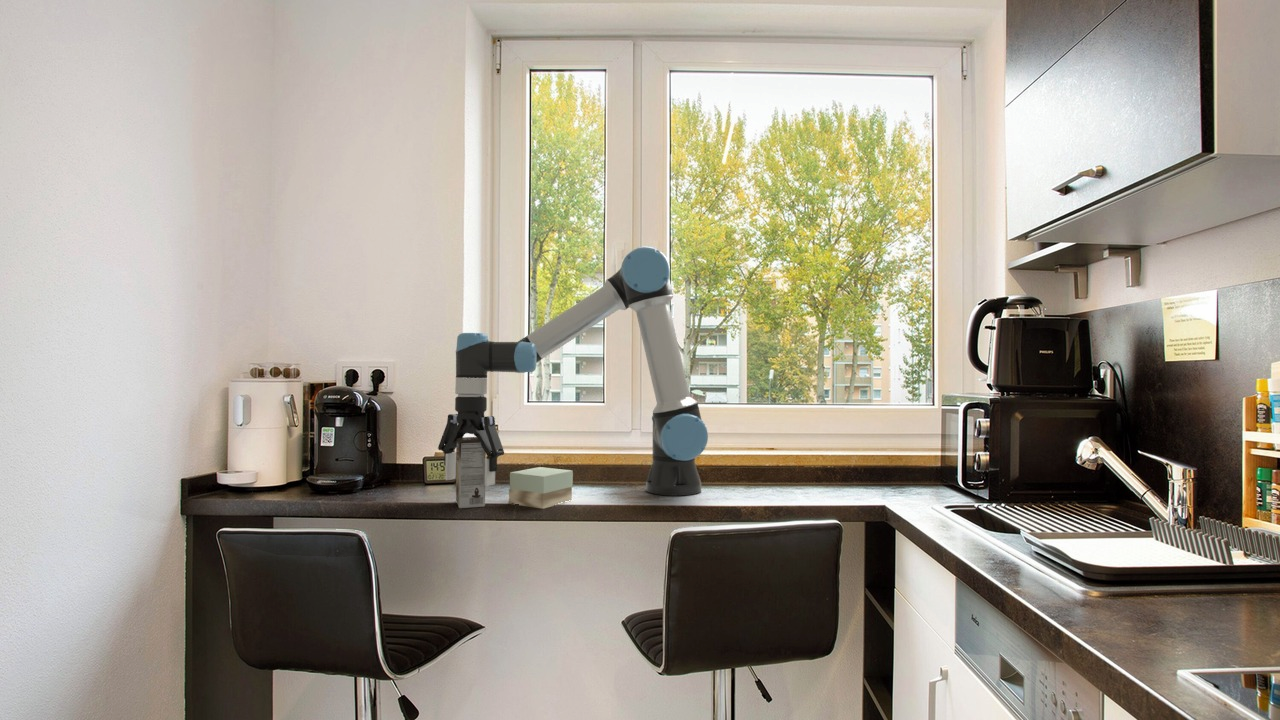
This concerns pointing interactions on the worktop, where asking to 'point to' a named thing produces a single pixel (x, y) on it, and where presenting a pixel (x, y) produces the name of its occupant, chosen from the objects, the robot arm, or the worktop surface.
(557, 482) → the slab top
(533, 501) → the slab bottom
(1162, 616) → the worktop surface
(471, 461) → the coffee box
